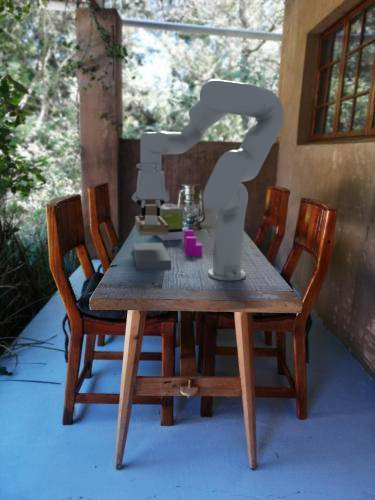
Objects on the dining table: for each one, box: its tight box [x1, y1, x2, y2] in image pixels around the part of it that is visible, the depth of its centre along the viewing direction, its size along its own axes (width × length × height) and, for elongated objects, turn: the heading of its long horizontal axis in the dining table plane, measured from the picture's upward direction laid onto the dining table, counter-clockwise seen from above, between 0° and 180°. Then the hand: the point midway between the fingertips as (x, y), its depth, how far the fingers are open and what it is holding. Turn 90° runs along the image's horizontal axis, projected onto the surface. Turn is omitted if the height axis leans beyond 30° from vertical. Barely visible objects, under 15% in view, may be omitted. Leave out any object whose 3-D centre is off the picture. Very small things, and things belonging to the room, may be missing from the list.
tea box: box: [153, 203, 184, 241], centre depth 189 cm, size 15×10×15 cm, turn 21°
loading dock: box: [132, 242, 172, 270], centre depth 153 cm, size 26×12×3 cm, turn 11°
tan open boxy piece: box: [134, 204, 169, 237], centre depth 149 cm, size 24×10×9 cm, turn 11°
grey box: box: [145, 215, 158, 225], centre depth 143 cm, size 4×4×4 cm
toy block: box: [183, 229, 203, 257], centre depth 166 cm, size 15×6×8 cm, turn 4°
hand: (150, 217), depth 150 cm, fingers closed on tan open boxy piece, 4 cm apart
